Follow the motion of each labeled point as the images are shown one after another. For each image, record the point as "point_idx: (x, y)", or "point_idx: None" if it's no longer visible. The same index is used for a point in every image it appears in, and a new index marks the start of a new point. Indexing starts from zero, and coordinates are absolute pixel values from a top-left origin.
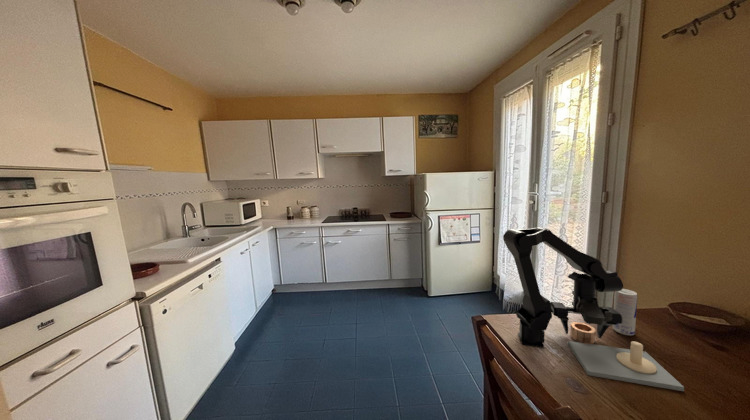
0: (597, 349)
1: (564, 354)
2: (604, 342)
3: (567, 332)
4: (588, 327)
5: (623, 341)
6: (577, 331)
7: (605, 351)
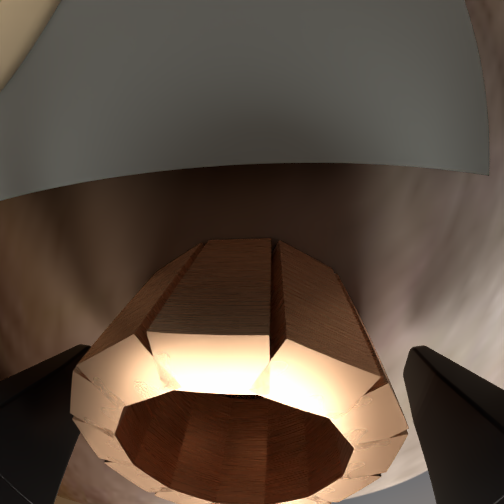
0: (175, 45)
1: (498, 14)
2: (74, 316)
3: (428, 356)
4: (152, 464)
5: (2, 344)
6: (376, 359)
7: (100, 49)
